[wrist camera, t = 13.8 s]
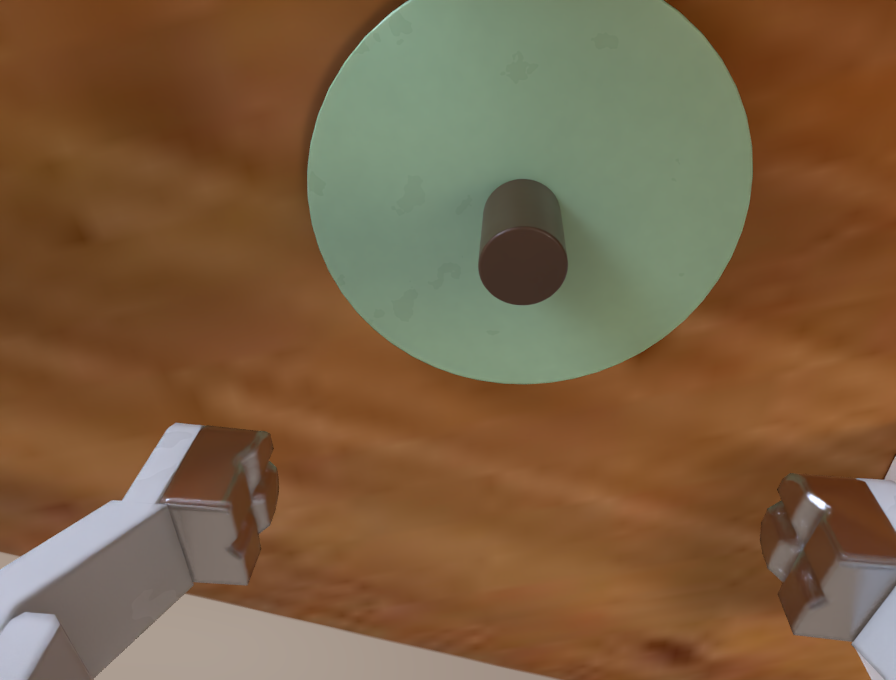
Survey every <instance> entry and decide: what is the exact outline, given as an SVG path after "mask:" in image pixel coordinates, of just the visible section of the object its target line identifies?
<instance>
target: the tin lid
mask: <svg viewBox="0 0 896 680" xmlns="http://www.w3.org/2000/svg"><path fill="white" fill-rule="evenodd" d="M752 178H753V162H752V142H751V137H750V131H749V126H748V120H747V115H746V112H745V109H744V107H743V104H742V101H741V98H740V95H739V92H738V89H737V86H736V85H735V83H734V81H733V79H732V77H731V75H730V73H729V71H728V70H727V68H726V66H725V64H724V62H723V60H722V59H721V57H720V56H719V55H718V53H717V52H716V51H715V49H714V48H713V47H712V45H711V44H710V43H709V41H708V40H707V39H706V37H705V36H704V35H703V34H702V33H701V32H700V31H699V30H698V29H697V28H696V27H695V26H694V25H693V24H692V23H691V22H690V21H689V20H688V19H687V18H686V17H685V16H684V15H683V14H681V13H680V12H679V11H678V10H677V9H675V8H674V7H672V6H671V5H669V4H668V3H667V2H665V1H664V0H408V1H407V2H405V3H404V4H402V5H401V6H399V7H398V8H397V9H395V10H394V11H392V12H391V13H390V14H389V15H388V16H387V17H386V18H384V19H383V20H382V21H381V22H380V23H379V24H378V25H377V26H376V27H375V28H374V29H373V30H372V31H371V32H369V33H368V34H367V35H366V36H365V37H364V38H363V40H362V41H361V42H360V43H359V45H358V46H357V47H356V48H355V50H354V51H353V52H352V53H351V55H350V56H349V57H348V58H347V60H346V61H345V62H344V64H343V66H342V67H341V69H340V71H339V72H338V74H337V76H336V77H335V79H334V81H333V82H332V84H331V86H330V88H329V90H328V92H327V94H326V97H325V99H324V102H323V104H322V106H321V109H320V111H319V114H318V116H317V120H316V124H315V128H314V132H313V136H312V139H311V143H310V152H309V160H308V169H307V184H308V203H309V209H310V215H311V222H312V226H313V230H314V233H315V236H316V240H317V243H318V246H319V250H320V252H321V254H322V256H323V259H324V261H325V263H326V265H327V268H328V270H329V272H330V274H331V275H332V277H333V279H334V280H335V282H336V284H337V285H338V287H339V289H340V290H341V292H342V294H343V295H344V296H345V297H346V299H347V300H348V301H349V302H350V304H351V305H352V306H353V308H354V309H355V310H356V311H357V313H358V314H359V315H360V316H361V317H362V318H363V319H364V320H365V321H366V322H367V323H368V324H369V325H370V326H371V327H372V328H373V329H374V330H376V331H377V332H378V333H379V334H381V335H382V336H383V337H384V338H386V339H387V340H388V341H389V342H391V343H392V344H394V345H395V346H397V347H398V348H400V349H401V350H403V351H405V352H406V353H408V354H409V355H411V356H413V357H415V358H417V359H419V360H421V361H423V362H425V363H427V364H429V365H431V366H433V367H436V368H439V369H441V370H444V371H447V372H450V373H453V374H455V375H459V376H463V377H467V378H472V379H476V380H481V381H488V382H495V383H503V384H538V383H551V382H557V381H563V380H569V379H574V378H578V377H582V376H585V375H589V374H592V373H596V372H599V371H602V370H604V369H607V368H609V367H612V366H614V365H617V364H619V363H622V362H624V361H625V360H627V359H629V358H631V357H633V356H635V355H637V354H639V353H641V352H643V351H644V350H646V349H647V348H649V347H650V346H652V345H653V344H655V343H656V342H658V341H659V340H661V339H662V338H664V337H665V336H666V335H668V334H669V333H670V332H671V331H672V330H674V329H675V328H676V327H677V326H678V325H680V324H681V323H682V322H683V321H684V320H685V319H686V318H687V317H688V316H689V315H690V314H691V313H692V312H693V311H694V310H695V309H696V308H697V307H698V306H699V304H700V303H701V302H702V301H703V300H704V299H705V297H706V296H707V294H708V293H709V292H710V290H711V289H712V288H713V286H714V285H715V284H716V282H717V281H718V280H719V278H720V276H721V274H722V273H723V271H724V269H725V267H726V266H727V264H728V262H729V260H730V259H731V257H732V255H733V252H734V250H735V247H736V245H737V242H738V240H739V238H740V235H741V233H742V230H743V226H744V222H745V218H746V215H747V211H748V207H749V203H750V195H751V186H752Z"/></svg>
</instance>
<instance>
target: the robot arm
mask: <svg viewBox="0 0 896 680" xmlns="http://www.w3.org/2000/svg"><path fill="white" fill-rule="evenodd" d="M273 449H274V448H273V443H272V439H271V434H270V433H268V432H265V431H256V430H246V429H237V428H227V427H218V426H208V425H206V426H202V425H193V424H184V423H175V424H173V425H172V426H170V427H169V428H168V429H167V430H166V432H165V433H164V435H163V436H162V438H161V439H160V441H159V443H158V444H157V446H156V447H155V449H154V451H153V452H152V454H151V455H150V457H149V458H148V460H147V462H146V463H145V465H144V466H143V468H142V469H141V471H140V473H139V474H138V476H137V477H136V479H135V480H134V482H133V484H132V485H131V487H130V488H129V490H128V491H127V493H126V495H125V496H124V498H123V499H122V501H117V500H112V501H110V502H108V503H107V504H105V505H104V506H102V507H100V508H99V509H97V510H95V511H94V512H92V513H91V514H89V515H87V516H86V517H84V518H83V519H81V520H79V521H78V522H76V523H74V524H73V525H71V526H70V527H68V528H66V529H65V530H63V531H61V532H60V533H58V534H57V535H55V536H53V537H52V538H50V539H49V540H47V541H45V542H44V543H42V544H40V545H39V546H37V547H36V548H34V549H32V550H31V551H29V552H28V553H26V554H24V555H23V556H21V557H20V558H18V559H16V560H15V561H13V562H11V563H10V564H8V565H6V566H5V567H3V568H2V569H0V680H93V679H94V678H95V677H96V676H97V675H98V674H99V673H100V672H101V671H102V670H103V669H104V668H106V667H107V666H108V665H109V664H110V663H111V662H112V661H113V660H114V659H115V658H116V657H117V656H118V655H119V654H120V653H122V652H123V651H124V650H125V649H126V648H127V647H128V646H129V645H130V644H131V643H132V642H133V641H134V640H135V639H137V638H138V637H139V636H140V635H141V634H142V633H143V632H144V631H145V630H146V629H147V628H148V627H149V626H150V625H152V624H153V623H154V622H155V621H156V620H157V619H158V618H159V617H160V616H161V615H162V614H163V613H164V612H165V611H166V610H168V609H169V608H170V607H171V606H172V605H173V604H174V603H175V602H176V601H177V600H178V599H179V598H180V597H181V596H183V595H184V594H185V593H186V592H187V591H188V590H189V589H190V588H191V587H192V586H193V582H201V583H217V584H234V585H248V583H249V580H250V578H251V575H252V572H253V570H254V567H255V564H256V562H257V559H258V556H259V554H260V551H261V544H260V539H259V533H261V532H262V531H263V530H265V529H266V528H267V527H268V526H270V524H271V521H272V519H273V516H274V513H275V510H276V505H277V499H278V493H279V477H278V471H277V468H276V467H275V466H274V465H273V464H272V463H271V462H270V461H269V459H270V457H271V454H272V452H273ZM777 491H778V493H779V495H780V498H781V501H780V502H778V503H776V504H775V505H773V506H771V507H769V508H768V509H767V511H766V513H765V515H764V518H763V520H762V522H761V532H760V543H761V549H762V554H763V557H764V560H765V562H766V565H767V568H768V569H769V570H770V571H771V572H772V573H773V574H775V575H776V576H777V577H778V578H779V579H780V580H781V581H782V582H783V583H782V585H781V587H780V590H779V592H778V596H779V599H780V602H781V604H782V607H783V609H784V612H785V614H786V617H787V619H788V622H789V624H790V627H791V630H792V632H793V635H800V636H808V637H817V638H825V639H834V640H842V641H851V642H853V643H852V644H851V645H852V646H853V647H854V648H855V649H856V650H857V651H858V652H859V653H860V654H861V655H862V656H863V657H864V658H865V660H866V661H867V662H868V663H869V664H870V665H871V666H872V667H873V668H874V669H875V670H876V671H877V672H878V673H879V674H880V676H881V677H882V678H883V679H884V680H896V483H895V482H894V481H893V480H879V479H865V478H856V479H855V478H851V477H837V476H823V475H809V474H795V473H790V474H788V475H787V476H786V477H784V478H783V479H782V481H781V483H780V485H779V487H778V489H777Z"/></svg>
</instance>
